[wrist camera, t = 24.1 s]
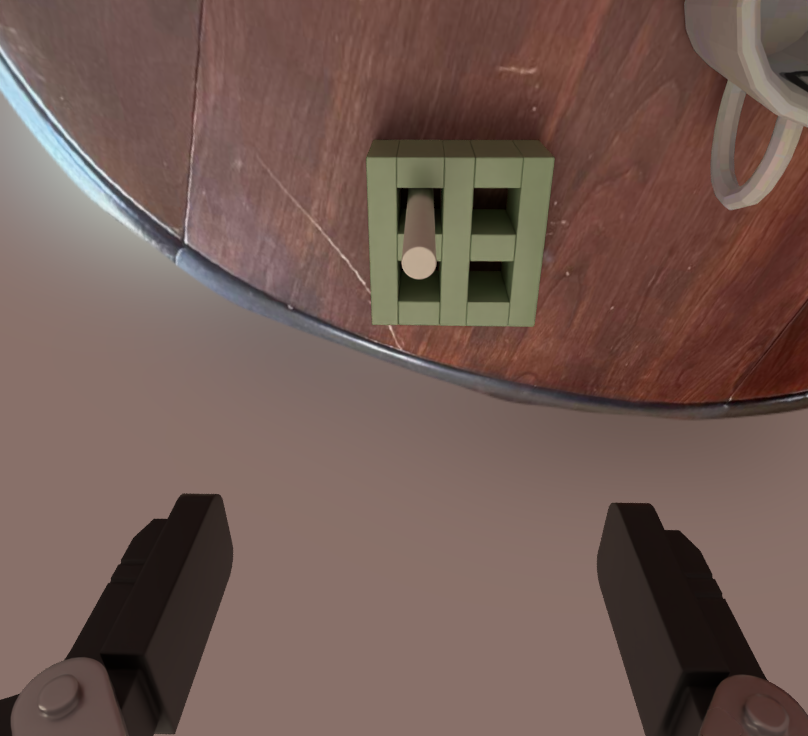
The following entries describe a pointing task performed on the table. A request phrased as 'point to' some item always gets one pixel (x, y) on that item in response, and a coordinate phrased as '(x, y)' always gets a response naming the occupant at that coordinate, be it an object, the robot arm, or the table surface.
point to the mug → (753, 82)
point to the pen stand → (459, 231)
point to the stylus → (419, 234)
